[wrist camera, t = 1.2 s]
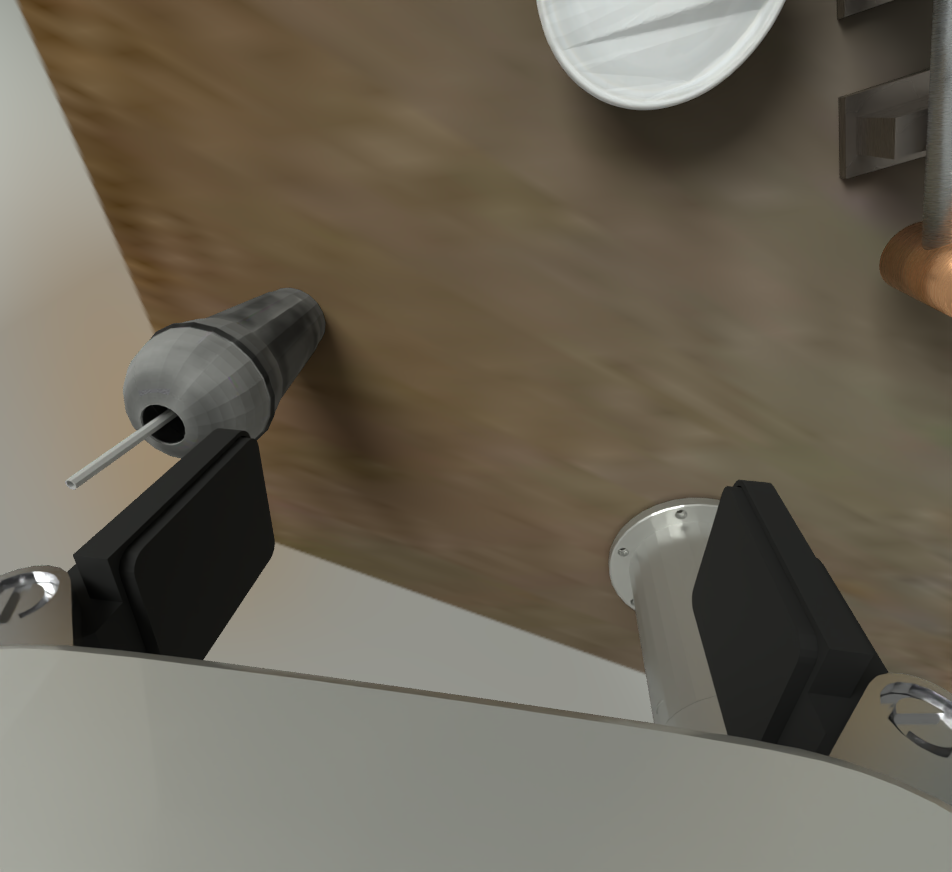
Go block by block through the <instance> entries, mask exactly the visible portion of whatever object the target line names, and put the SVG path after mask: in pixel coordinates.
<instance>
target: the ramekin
mask: <svg viewBox="0 0 952 872" xmlns="http://www.w3.org/2000/svg"><path fill="white" fill-rule="evenodd" d="M536 1H537V7H538V12H539V16H540V20H541V24H542V27H543V31H544V34H545V37H546V39H547V42H548V44H549V46H550V48H551V50H552V52H553V54H554V55H555V57H556V59H557V61H558V62H559V64H560V65H561V67H562V68H563V70H564V71H565V72H566V73H567V75H568V76H569V77H570V78H571V79H572V80H573V81H574V82H575V83H576V84H577V85H578V86H579V87H581V88H582V89H583V90H585V91H586V92H587V93H589V94H591V95H592V96H594V97H595V98H597V99H599V100H601V101H603V102H605V103H608V104H610V105H613V106H617V107H621V108H625V109H633V110H655V109H662V108H667V107H671V106H675V105H678V104H681V103H684V102H687V101H689V100H691V99H694V98H696V97H698V96H700V95H702V94H704V93H706V92H708V91H709V90H711V89H712V88H714V87H715V86H717V85H718V84H720V83H721V82H722V81H724V80H725V79H726V78H727V77H729V76H730V75H731V74H732V73H733V72H734V71H735V70H736V69H737V68H738V67H740V66H741V65H742V64H743V63H744V62H745V61H746V60H747V58H748V57H749V56H750V55H751V54H752V53H753V52H754V51H755V49H756V48H757V47H758V45H759V44H760V43H761V41H762V40H763V39H764V37H765V36H766V34H767V33H768V32H769V30H770V29H771V27H772V26H773V24H774V22H775V20H776V19H777V17H778V15H779V13H780V11H781V9H782V7H783V5H784V3H785V1H786V0H536Z"/></svg>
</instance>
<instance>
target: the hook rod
mask: <svg viewBox="0 0 952 872" xmlns="http://www.w3.org/2000/svg"><path fill="white" fill-rule="evenodd" d="M879 267H880V274H881V276H882V278H883V280H884V281H885V282H886V283H887V284H888V285H890V286H892V287H894V288H895V289H897V290H899V291H901V292H903V293H905V294H907V295H909V296H911V297H913V298H915V299H917V300H919V301H921V302H923V303H925V304H927V305H929V306H930V307H932V308H934V309H936V310H938V311H940V312H942V313H944V314H946V315H948V316H950V317H952V0H934V2H933V22H932V42H931V62H930V83H929V103H928V123H927V143H926V164H925V184H924V204H923V221H922V222H917V223H914V224H912V225H910V226H908V227H906V228H904V229H902V230H901V231H900V232H898V233H897V234H896V235H895V236H894V237H893V238H892V239H891V240H890V241H889V242H888V244H887V245H886V247H885V248H884V250H883V252H882V255H881V258H880V264H879Z"/></svg>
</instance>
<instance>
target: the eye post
mask: <svg viewBox="0 0 952 872" xmlns="http://www.w3.org/2000/svg"><path fill="white" fill-rule="evenodd" d="M889 1H892V0H837V20H838V19H841V18H844V17H847V16H850V15H852V14H855V13H858V12H861V11H864V10H867V9H869V8H872V7H875V6H878V5H881V4H884V3H887V2H889Z"/></svg>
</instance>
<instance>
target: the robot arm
mask: <svg viewBox="0 0 952 872" xmlns="http://www.w3.org/2000/svg"><path fill="white" fill-rule="evenodd" d="M274 545H275V541H274V534H273V528H272V522H271V517H270V511H269V505H268V499H267V493H266V487H265V481H264V476H263V470H262V464H261V458H260V452H259V446H258V443H257V441H256V440H255V439H254V438H251V437H250V435H249V433H248V432H246V431H243V430H233V429H223V428H217V429H215V430H213V431H212V432H211V433H210V434H209V435H208V436H207V437H206V438H204V439H203V440H202V441H201V442H200V443H199V444H198V445H196V446H195V447H194V448H193V449H192V450H191V451H190V452H189V453H187V454H186V455H185V456H184V457H183V458H182V459H181V460H180V461H178V462H177V463H176V464H175V465H174V466H173V467H172V468H170V469H169V470H168V471H167V472H166V473H165V474H164V475H163V476H162V477H160V478H159V479H158V480H157V481H156V482H155V483H154V484H152V485H151V486H150V487H149V488H148V489H147V490H146V491H145V492H143V493H142V494H141V495H140V496H139V497H138V498H137V499H135V500H134V501H133V502H132V503H131V504H130V505H129V506H128V507H126V508H125V509H124V510H123V511H122V512H121V513H120V514H118V515H117V516H116V517H115V518H114V519H113V520H112V521H111V522H110V523H108V524H107V525H106V526H105V527H104V528H103V529H102V530H100V531H99V532H98V533H97V534H96V535H95V536H94V537H92V538H91V539H90V540H89V541H88V542H87V543H86V544H85V545H83V546H82V547H81V548H80V549H79V550H78V551H77V552H76V553H75V554H73V557H74V559H75V562H76V565H74V566H73V567H72V568H71V569H70V570H69V571H68V572H66V571H64V570H63V569H62V568H60V567H54V566H50V565H41V566H31V567H26V568H21V569H17V570H14V571H11V572H8V573H5V574H3V575H0V872H952V694H951V693H949V692H948V691H946V690H945V689H943V688H942V687H939V686H937V685H935V684H933V683H931V682H929V681H926V680H924V679H922V678H918V677H914V676H911V675H907V674H900V673H888V671H887V669H886V668H885V666H884V664H883V663H882V661H881V659H880V658H879V656H878V654H877V653H876V651H875V649H874V648H873V646H872V644H871V643H870V641H869V639H868V638H867V636H866V634H865V633H864V631H863V629H862V628H861V626H860V624H859V623H858V621H857V620H856V618H855V616H854V615H853V613H852V611H851V610H850V608H849V606H848V605H847V603H846V601H845V600H844V598H843V596H842V595H841V593H840V591H839V590H838V588H837V586H836V585H835V583H834V581H833V580H832V578H831V576H830V575H829V573H828V571H827V570H826V568H825V566H824V565H823V564H822V562H821V561H820V560H819V559H818V558H816V557H815V555H814V553H813V552H812V550H811V548H810V547H809V545H808V543H807V542H806V540H805V538H804V537H803V535H802V533H801V532H800V530H799V528H798V527H797V525H796V523H795V521H794V520H793V518H792V516H791V515H790V513H789V511H788V510H787V508H786V506H785V505H784V503H783V501H782V500H781V498H780V496H779V495H778V493H777V491H776V490H775V488H774V486H773V485H772V484H771V483H766V482H756V481H746V480H738V481H736V483H735V484H734V486H733V487H731V486H727V487H725V488H724V490H723V493H722V496H721V499H720V500H716V499H710V498H684V499H677V500H671V501H668V502H664V503H661V504H658V505H655V506H653V507H651V508H649V509H647V510H645V511H643V512H641V513H640V514H638V515H637V516H635V517H634V518H632V519H631V520H630V521H629V522H628V523H627V524H626V525H625V526H624V527H623V528H622V529H621V530H620V532H619V533H618V535H617V536H616V538H615V539H614V541H613V544H612V546H611V549H610V553H609V561H608V563H609V574H610V578H611V582H612V585H613V587H614V589H615V591H616V592H617V594H618V596H619V597H620V598H621V599H622V600H623V601H624V602H625V603H626V604H627V605H628V606H629V607H631V608H632V609H633V610H635V612H636V618H637V624H638V630H639V636H640V642H641V648H642V654H643V660H644V666H645V672H646V678H647V684H648V690H649V696H650V702H651V708H652V714H653V720H654V723H648V722H641V721H634V720H627V719H621V718H614V717H606V716H599V715H593V714H586V713H579V712H572V711H565V710H558V709H552V708H545V707H538V706H531V705H524V704H518V703H511V702H503V701H497V700H490V699H483V698H476V697H468V696H461V695H454V694H447V693H440V692H432V691H426V690H419V689H412V688H404V687H397V686H389V685H383V684H375V683H368V682H361V681H354V680H346V679H339V678H332V677H324V676H317V675H310V674H302V673H295V672H288V671H280V670H272V669H265V668H257V667H250V666H243V665H235V664H228V663H220V662H212V661H205V660H203V659H204V658H205V656H206V655H207V653H208V652H209V650H210V649H211V647H212V646H213V644H214V643H215V641H216V640H217V638H218V637H219V635H220V634H221V632H222V631H223V629H224V628H225V626H226V625H227V623H228V622H229V620H230V619H231V617H232V616H233V614H234V613H235V611H236V610H237V608H238V607H239V605H240V604H241V602H242V601H243V599H244V598H245V596H246V595H247V593H248V592H249V590H250V589H251V587H252V586H253V584H254V583H255V581H256V580H257V578H258V576H259V575H260V574H261V572H262V570H263V569H264V568H265V566H266V564H267V563H268V562H269V560H270V558H271V557H272V554H273V551H274Z"/></svg>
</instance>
